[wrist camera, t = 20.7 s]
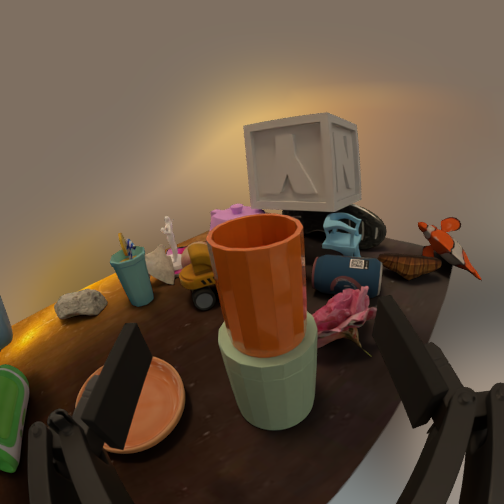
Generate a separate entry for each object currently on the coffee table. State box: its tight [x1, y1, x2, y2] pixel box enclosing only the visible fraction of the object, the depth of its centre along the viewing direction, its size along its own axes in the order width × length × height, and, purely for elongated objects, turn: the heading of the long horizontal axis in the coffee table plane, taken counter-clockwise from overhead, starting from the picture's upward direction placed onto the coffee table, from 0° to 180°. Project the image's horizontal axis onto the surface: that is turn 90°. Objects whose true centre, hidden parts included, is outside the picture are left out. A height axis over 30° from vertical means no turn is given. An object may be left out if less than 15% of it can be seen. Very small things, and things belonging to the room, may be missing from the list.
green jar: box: [218, 312, 318, 430], centre depth 28 cm, size 9×9×12 cm
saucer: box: [75, 357, 185, 454], centre depth 29 cm, size 16×16×3 cm
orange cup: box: [206, 214, 307, 358], centre depth 23 cm, size 7×7×10 cm
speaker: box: [0, 364, 29, 473], centre depth 21 cm, size 18×7×8 cm
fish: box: [418, 217, 481, 280], centre depth 48 cm, size 20×12×15 cm
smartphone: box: [166, 246, 188, 278], centre depth 68 cm, size 7×1×15 cm
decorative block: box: [244, 113, 361, 212], centre depth 59 cm, size 19×19×20 cm
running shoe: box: [282, 204, 386, 249], centre depth 69 cm, size 11×29×12 cm
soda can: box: [312, 254, 382, 298], centre depth 47 cm, size 7×7×12 cm
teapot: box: [210, 204, 266, 231], centre depth 64 cm, size 20×12×13 cm, turn 46°
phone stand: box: [322, 213, 362, 257], centre depth 52 cm, size 8×8×12 cm
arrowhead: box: [145, 244, 174, 285], centre depth 60 cm, size 8×2×10 cm
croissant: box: [378, 253, 441, 280], centre depth 48 cm, size 14×7×5 cm
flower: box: [312, 286, 377, 356], centre depth 36 cm, size 11×10×10 cm
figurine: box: [161, 216, 182, 270], centre depth 63 cm, size 7×7×12 cm
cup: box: [110, 233, 154, 307], centre depth 51 cm, size 14×8×15 cm, turn 42°
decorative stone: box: [54, 289, 107, 319], centre depth 51 cm, size 12×11×5 cm
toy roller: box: [179, 243, 217, 310], centre depth 51 cm, size 9×14×10 cm, turn 109°
